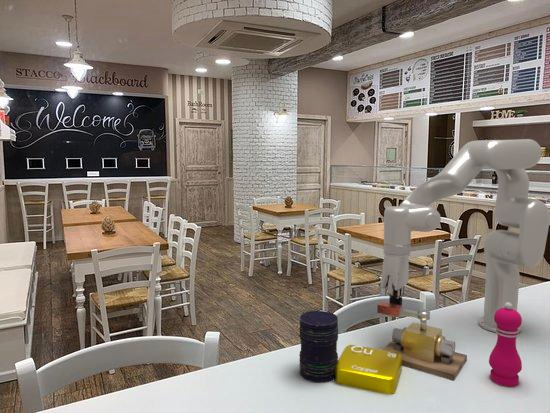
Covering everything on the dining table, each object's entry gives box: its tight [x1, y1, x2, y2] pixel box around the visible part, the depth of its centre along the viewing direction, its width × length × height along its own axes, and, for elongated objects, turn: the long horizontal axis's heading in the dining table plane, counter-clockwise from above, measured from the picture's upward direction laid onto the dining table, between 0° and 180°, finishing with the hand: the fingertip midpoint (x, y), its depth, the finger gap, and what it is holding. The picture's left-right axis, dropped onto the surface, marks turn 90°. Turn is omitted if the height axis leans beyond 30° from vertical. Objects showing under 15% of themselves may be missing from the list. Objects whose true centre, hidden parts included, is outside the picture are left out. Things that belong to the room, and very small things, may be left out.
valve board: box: [381, 340, 468, 381], centre depth 118 cm, size 13×20×2 cm, turn 53°
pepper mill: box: [488, 302, 523, 387], centre depth 106 cm, size 7×7×20 cm
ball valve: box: [391, 319, 456, 364], centre depth 117 cm, size 7×16×10 cm, turn 53°
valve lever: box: [376, 301, 431, 321], centre depth 120 cm, size 14×3×2 cm, turn 56°
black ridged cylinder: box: [298, 310, 339, 384], centre depth 110 cm, size 10×10×15 cm
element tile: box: [334, 344, 403, 395], centre depth 110 cm, size 15×15×5 cm
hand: (395, 309), depth 127 cm, fingers closed
